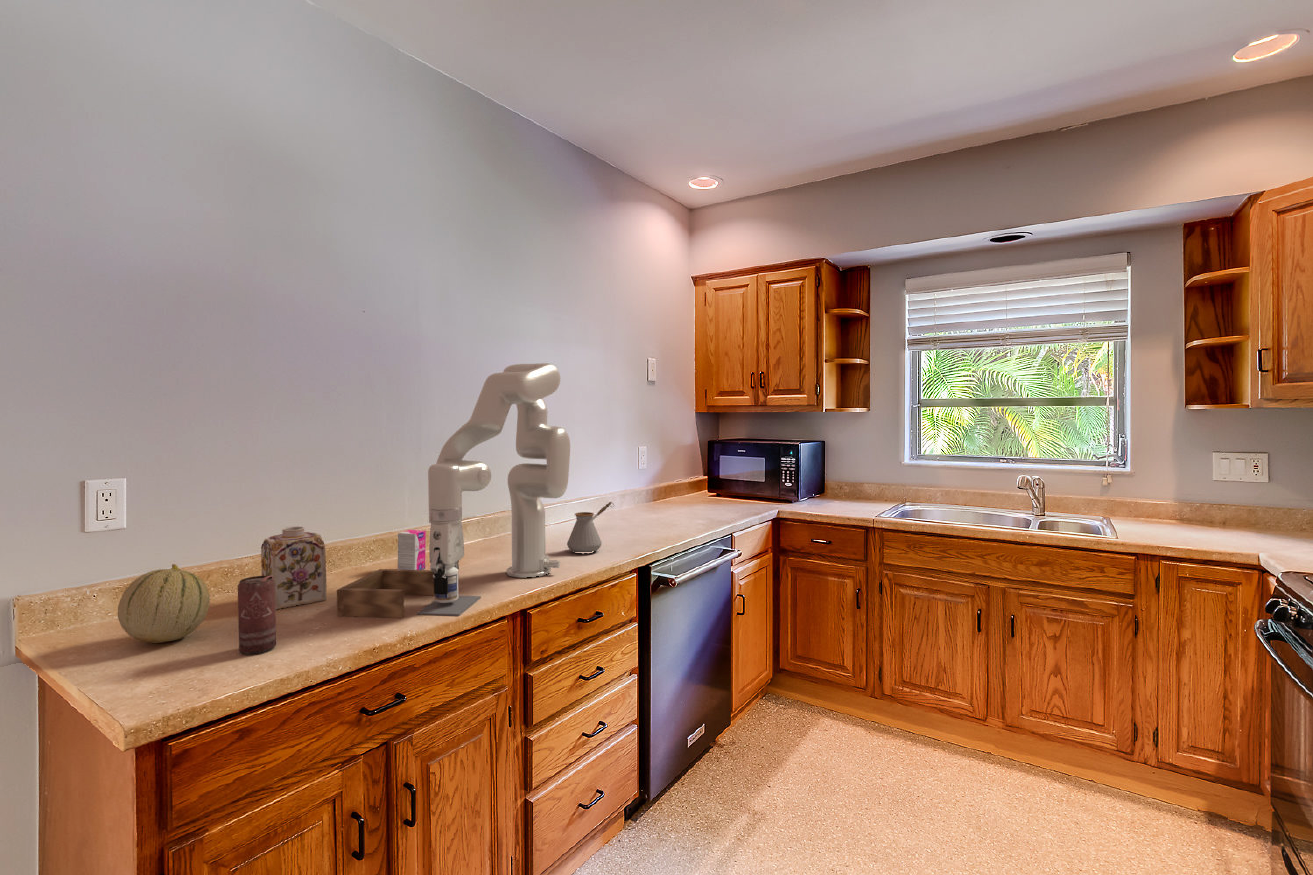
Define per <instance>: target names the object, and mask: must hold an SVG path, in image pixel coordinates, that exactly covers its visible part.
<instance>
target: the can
mask: <svg viewBox="0 0 1313 875" xmlns="http://www.w3.org/2000/svg"><path fill="white" fill-rule="evenodd" d="M238 582H239V583H238V585H237V612H238V614H237V615H238V651H239V653H241V655H246V656H254V655H255V654H256V655H261V654H260V653H262V654H264V653H268V652H270V651H272V650H273V649H275V647H276V645H277V623H276V622H277V621H276V620H277V618H276V617H277V616H276V611H277V610H275V581H274V578H273V576H262V575H255V576H249V577H245V578H242V579H240V580H239V581H238Z"/></svg>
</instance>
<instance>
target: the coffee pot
mask: <svg viewBox="0 0 1313 875" xmlns="http://www.w3.org/2000/svg"><path fill="white" fill-rule="evenodd" d="M611 504H613V506H612V505H611ZM609 507H611V508H613V507H615V504H614V503H613V502H612V501H610V502H608V503H607V504H605V505H604V506H603V507H601V509H600V510H598V512H596V514H595V513H594V512H590V511H589V512H588V511H582V512H581V511H580V512H575V513H574V516H575V518H576V521H575V523H574V525H573V528H572V531H571V533H570V535H569V538H568V540H567V542H566V543H567V544H566V545H567V547H568V549H569V550H570V551H572V552H573V551H574V552H592V551H596V552H597V551H598V550H600V548H601V547H602V544H603V542H602V540H601V537H600V535H599V532H598V530H597V528H596V526H595V523H594V520H595V519H596V518H598V516H600V515H601V514H603V513H604V512H605V511H606V510H607V508H609Z"/></svg>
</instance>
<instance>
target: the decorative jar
mask: <svg viewBox="0 0 1313 875" xmlns="http://www.w3.org/2000/svg"><path fill="white" fill-rule="evenodd" d="M281 532H282V533H281V534H275V535H272V536H269V537H267V538H265V539H264V540H263V542H262V544H261V547H260V548H261V553H260V561H261V562H260V564H261V566H260V567H261V576H273V578H274V581H275V611H277V609H278V610H282V609H281V608H283V609H288V608H293V607H297V606H296V605H299V606H302V605H301V604H304V605H310V604H314V603H318V602H319V601H320V602H324V601H326V600H327V557H326V556H327V555H326V545H325V542H324V539H323V537H322V536H321V534H319V533H317V532H309V531H305V527H304V526H299V525H298V526H290V527H289V526H287V527H284V528H282V530H281ZM320 602H319V603H320ZM292 606H293V607H292ZM287 607H288V608H287Z"/></svg>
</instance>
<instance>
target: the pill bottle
mask: <svg viewBox="0 0 1313 875" xmlns="http://www.w3.org/2000/svg"><path fill="white" fill-rule="evenodd" d="M438 564H444V563H443V562H439V563H438ZM454 565H455V563H454V564H452V565H450V566H447V574H446V577H448V594H446V595H436V594H435V595H434V599H435V600H434V601H436V602H440V603H448V602H453V601H456V600H457V599H458V596H459V585H458V582H459V569H457V568H455V567H454ZM439 568H441V570H442V571H443V567H439Z"/></svg>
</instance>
